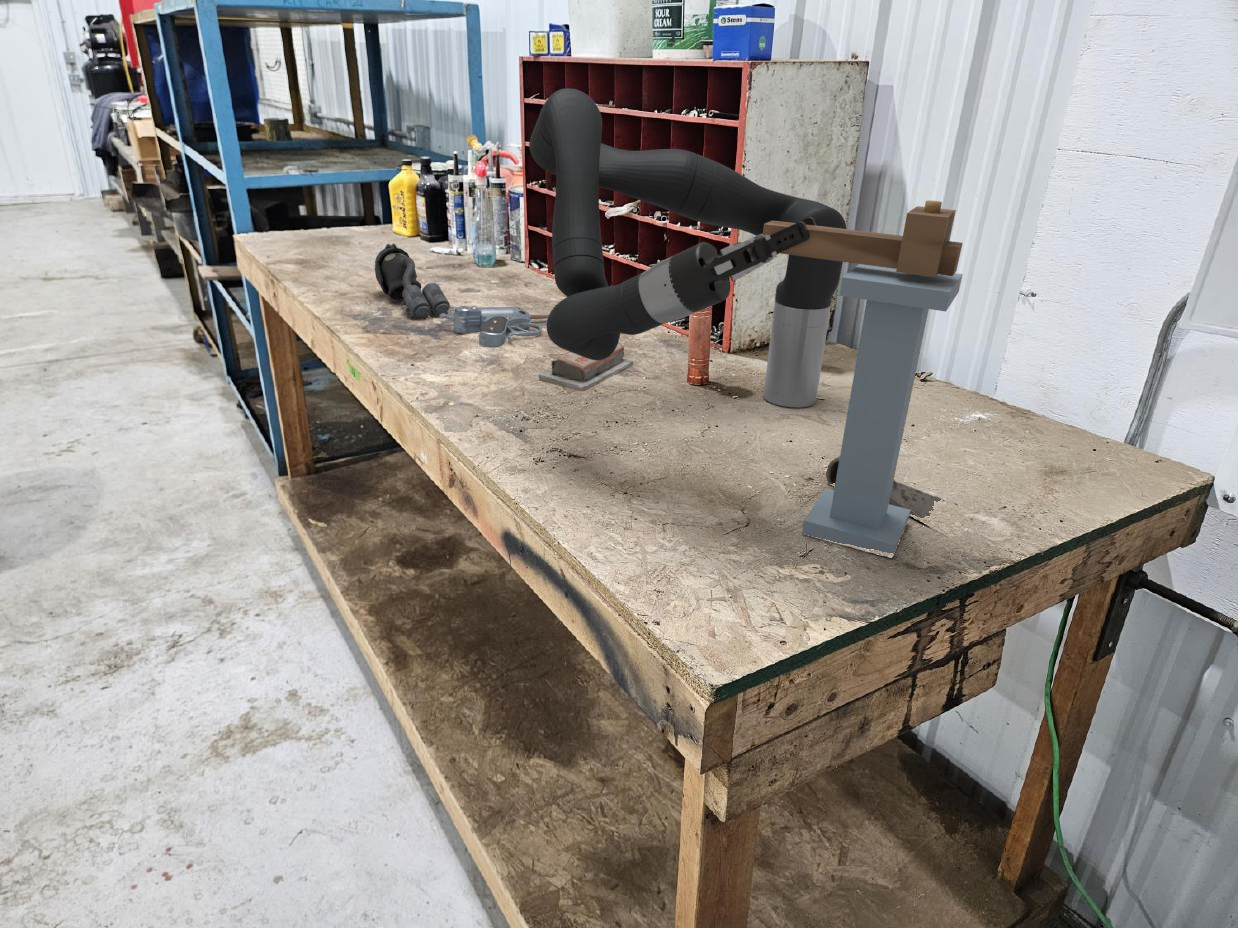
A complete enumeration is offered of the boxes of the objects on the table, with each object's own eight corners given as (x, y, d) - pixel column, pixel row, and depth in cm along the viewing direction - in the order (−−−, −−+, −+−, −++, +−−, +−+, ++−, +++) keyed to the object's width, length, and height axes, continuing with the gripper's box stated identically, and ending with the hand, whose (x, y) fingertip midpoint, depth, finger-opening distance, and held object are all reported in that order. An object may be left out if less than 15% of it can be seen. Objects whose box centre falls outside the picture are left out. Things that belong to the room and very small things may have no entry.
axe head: (998, 505, 106) (967, 531, 99) (983, 536, 108) (952, 563, 102) (862, 436, 116) (826, 455, 110) (851, 465, 119) (815, 486, 113)
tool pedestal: (823, 501, 108) (863, 261, 94) (907, 523, 104) (962, 274, 90) (802, 534, 100) (842, 277, 86) (892, 559, 96) (950, 292, 82)
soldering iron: (461, 356, 161) (437, 327, 172) (586, 350, 174) (556, 324, 186) (463, 328, 158) (439, 301, 170) (590, 325, 171) (559, 300, 183)
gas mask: (407, 353, 185) (367, 279, 197) (444, 347, 190) (403, 275, 202) (414, 302, 174) (371, 227, 186) (454, 298, 179) (409, 225, 191)
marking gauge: (773, 244, 96) (780, 183, 93) (958, 268, 88) (973, 201, 85) (756, 253, 92) (763, 188, 89) (950, 279, 83) (965, 208, 80)
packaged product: (590, 333, 159) (634, 343, 155) (590, 357, 161) (633, 367, 157) (537, 357, 145) (583, 367, 140) (537, 382, 147) (583, 394, 143)
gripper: (646, 266, 94) (779, 202, 84) (694, 247, 105) (815, 189, 96) (672, 325, 96) (805, 270, 86) (716, 300, 107) (838, 248, 97)
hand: (810, 227), depth 91 cm, fingers closed on marking gauge, 3 cm apart
